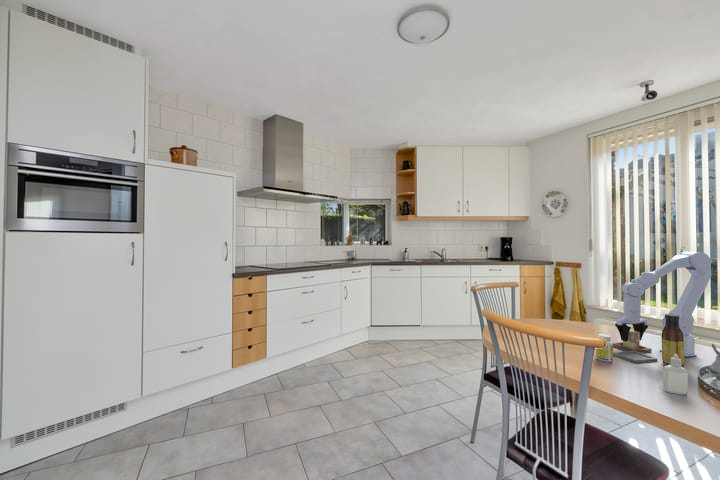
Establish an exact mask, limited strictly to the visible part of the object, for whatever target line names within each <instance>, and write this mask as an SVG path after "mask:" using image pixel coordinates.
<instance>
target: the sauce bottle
mask: <svg viewBox="0 0 720 480" xmlns="http://www.w3.org/2000/svg"><path fill="white" fill-rule="evenodd" d="M664 317H665V319H666V324H665V326H663V329H662V331H661V349H662V351H661V360H662V364H663V366H664V367H665V366H667V365H671V364H670V363H671V358H672V357H674V354H677V355H678V358H679V359H681V367H683V368H685V357H684V340H683V332H682V331H681V329H680V328H679V319H680V318H679V315H675V314H668V313H665V314H664Z"/></svg>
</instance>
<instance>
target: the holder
mask: <svg viewBox="0 0 720 480" xmlns="http://www.w3.org/2000/svg"><path fill="white" fill-rule="evenodd" d="M612 343H613V348H615V349H618V350H621V351H636V352H639V353H642V354H646V353H648V354H649V353H652V351H653V349H652V348H650V347H647V346H644V345H640V349H631V348H628V347H625V346H623V341H618V342H612Z"/></svg>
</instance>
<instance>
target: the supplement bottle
mask: <svg viewBox="0 0 720 480" xmlns="http://www.w3.org/2000/svg"><path fill="white" fill-rule="evenodd" d="M597 335H598V336H600V337H603V338H604V339H606V341H607V346H606V347H605V348H602V349H596V350H595V353H596V355H595V357H596V359H597V360H598V361H602V362H607V363H611V362H613V360H614V355H613V352H614V347H613V343H614V342H612V341H611V339H612V336H611V335H610V334H604V333H598V334H597Z"/></svg>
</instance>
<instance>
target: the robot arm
mask: <svg viewBox="0 0 720 480" xmlns="http://www.w3.org/2000/svg"><path fill="white" fill-rule="evenodd" d="M712 263H713V260H712V259H711V258H710V256H709V255H708V254H707V253H705V252H701V251H698V252H697V251H696V252H695V251H681V252H679V253H678V254H675V255H674V256H673V257H672V258H671V259H669V260H668V261H666V262H665V263H663V264H662V265H661V266H659V267H657V268H656V269H655V270H653V271H646V272H645V271H642V272H641V274H640V275H639V276H638V277H636V278H635V279H634V278H632V279H631V280H630V282H625V283H624V284H623V285H622V286H621V287H620V289H621V291H622V293H623V315H622V316H623V317H621V318H619V319H616V320H615V327H616V329H617V330H618V333H619V336H620V337H619V338H620V340H621V341H622V342H623V341H626V342H627V341H628V334H629V331H630V330H632V328H633V331H637V332H640V341H642V338H643V336H644V333H645V332H646V330H647V329H648V328H649V325H648V324H647V323H648V322H647V321H648V320H647V319H645V318H641V308H642V307H641V299H642V296H643V295H644V293H645V291H646V290H649V289H650V288H651V287H653V286H655V285H656V284H659V283H660V278H662V277H664V276H666V275H668V274H670V273H672V272H674V271H675V270H677V269H681V268H685V269H686V270H687V271H688V273H689V274H690V278H689V279H688V282H687V284H686V286H685V288H684V289H683V291H682V293H681V295H680V298H679V299H678V302H677V303H676V305H675V306H674V308H673V309H671V310H669V311H668V313H667V314H675V315H679V318H680V319H679V328H680V329H681V331H682V332H683V340H684V358H685V357H696V356H698V354H697V353H695V352H696V351H695V348H696V347H695V346H696V343H695V342H696V340H695V337H694V336H693V335H692V334H691V333H693V330H694V322H695V319H694V316H693V313H694V312H695V309H696V307H697V305H698V303H699V301H700V299H701V297H702V296H703V293H704V291H705V290H706V287H707V286H708V284H709V282H710V279H711V278H712V266H711V265H712ZM661 323H662V325H663V327H665V324H666V319H665V316H664V317H662V320H661ZM628 325H632V326H628ZM659 351H660V352H662V348H660V349H659Z"/></svg>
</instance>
